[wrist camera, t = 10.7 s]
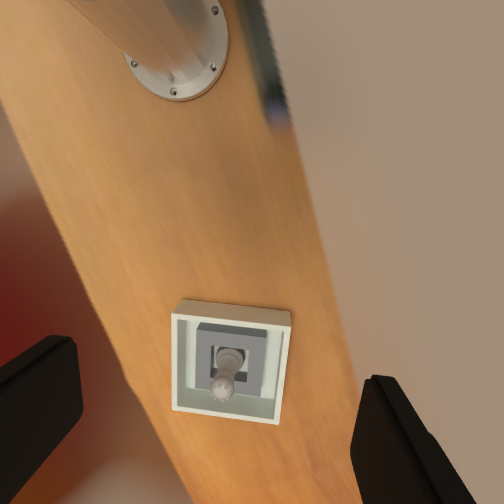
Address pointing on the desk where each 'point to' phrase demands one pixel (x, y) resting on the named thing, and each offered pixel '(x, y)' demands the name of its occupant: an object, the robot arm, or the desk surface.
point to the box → (232, 336)
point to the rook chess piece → (226, 372)
